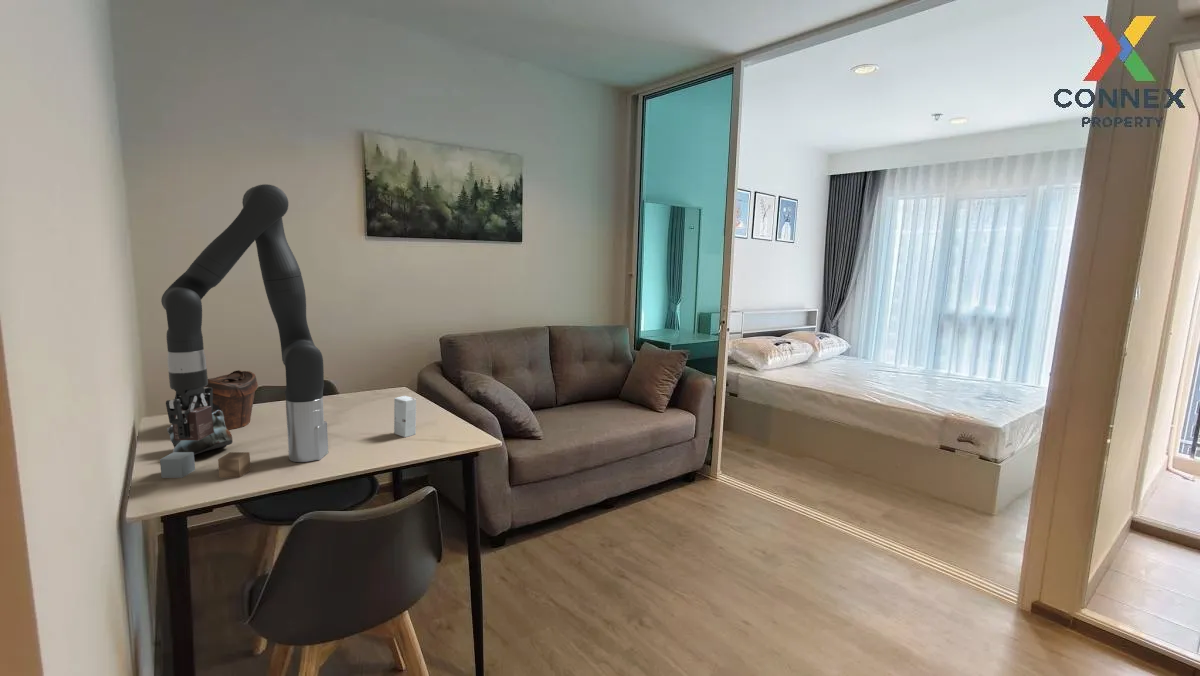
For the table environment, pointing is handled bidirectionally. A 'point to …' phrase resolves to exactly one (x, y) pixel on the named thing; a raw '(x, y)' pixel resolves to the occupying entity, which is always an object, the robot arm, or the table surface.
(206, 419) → the box
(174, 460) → the grey block
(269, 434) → the table surface
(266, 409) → the table surface
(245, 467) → the walnut block
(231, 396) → the brown wooden container
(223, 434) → the grey-blue rounded figure
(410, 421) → the skincare box
